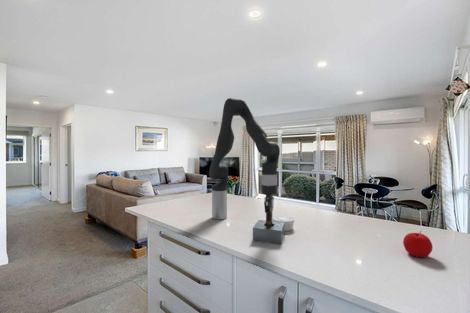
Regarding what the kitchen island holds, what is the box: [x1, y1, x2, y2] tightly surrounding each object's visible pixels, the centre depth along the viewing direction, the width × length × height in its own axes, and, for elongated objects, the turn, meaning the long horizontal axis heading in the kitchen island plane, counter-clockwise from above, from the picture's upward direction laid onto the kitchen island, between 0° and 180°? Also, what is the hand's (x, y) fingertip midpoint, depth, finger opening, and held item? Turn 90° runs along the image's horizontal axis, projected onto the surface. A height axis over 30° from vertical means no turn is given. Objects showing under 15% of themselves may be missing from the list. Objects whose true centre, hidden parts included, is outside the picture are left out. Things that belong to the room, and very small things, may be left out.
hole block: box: [252, 219, 285, 245], centre depth 110 cm, size 13×13×6 cm
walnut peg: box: [265, 208, 273, 227], centre depth 110 cm, size 3×3×10 cm
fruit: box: [402, 230, 433, 258], centre depth 91 cm, size 9×9×10 cm
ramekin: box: [272, 215, 295, 232], centre depth 124 cm, size 11×11×5 cm
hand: (269, 219), depth 110 cm, fingers closed on walnut peg, 3 cm apart
